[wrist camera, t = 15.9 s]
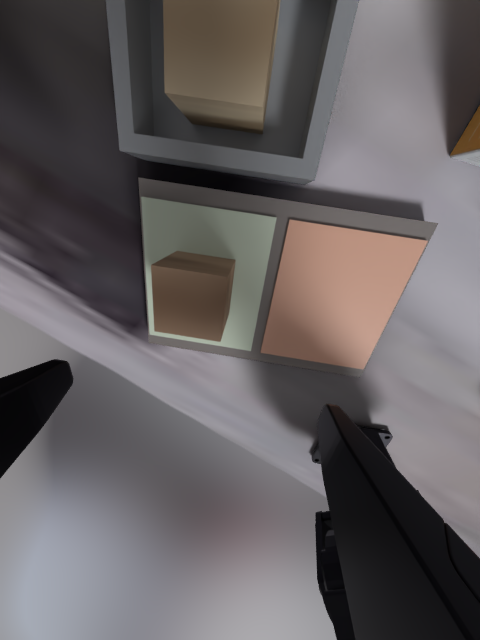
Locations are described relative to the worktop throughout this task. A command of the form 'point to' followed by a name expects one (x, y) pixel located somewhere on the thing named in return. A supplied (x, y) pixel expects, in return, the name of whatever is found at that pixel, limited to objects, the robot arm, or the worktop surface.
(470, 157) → the small box
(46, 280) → the worktop surface
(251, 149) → the grey tray
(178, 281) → the walnut block
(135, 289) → the worktop surface
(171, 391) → the worktop surface
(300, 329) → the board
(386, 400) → the worktop surface
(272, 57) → the birch block
